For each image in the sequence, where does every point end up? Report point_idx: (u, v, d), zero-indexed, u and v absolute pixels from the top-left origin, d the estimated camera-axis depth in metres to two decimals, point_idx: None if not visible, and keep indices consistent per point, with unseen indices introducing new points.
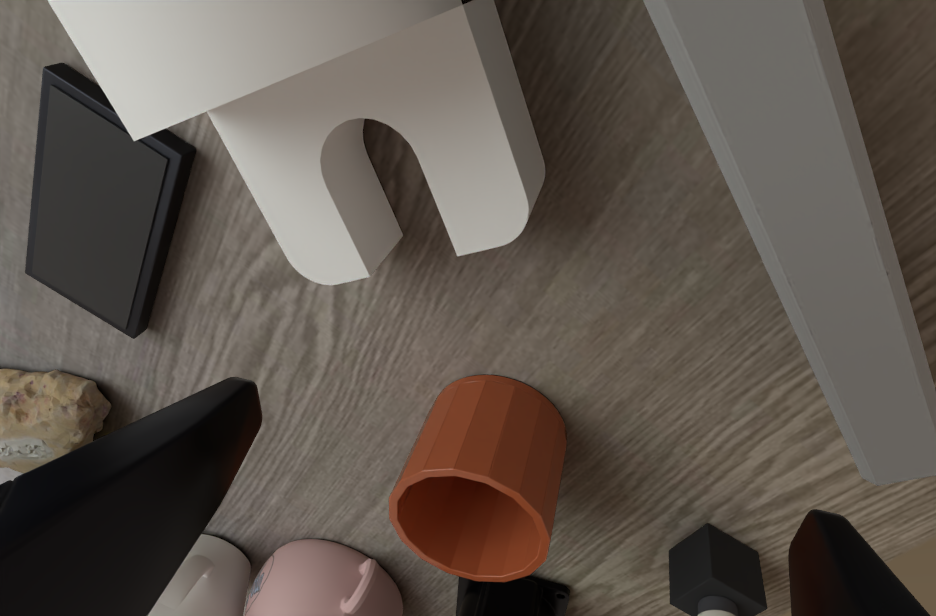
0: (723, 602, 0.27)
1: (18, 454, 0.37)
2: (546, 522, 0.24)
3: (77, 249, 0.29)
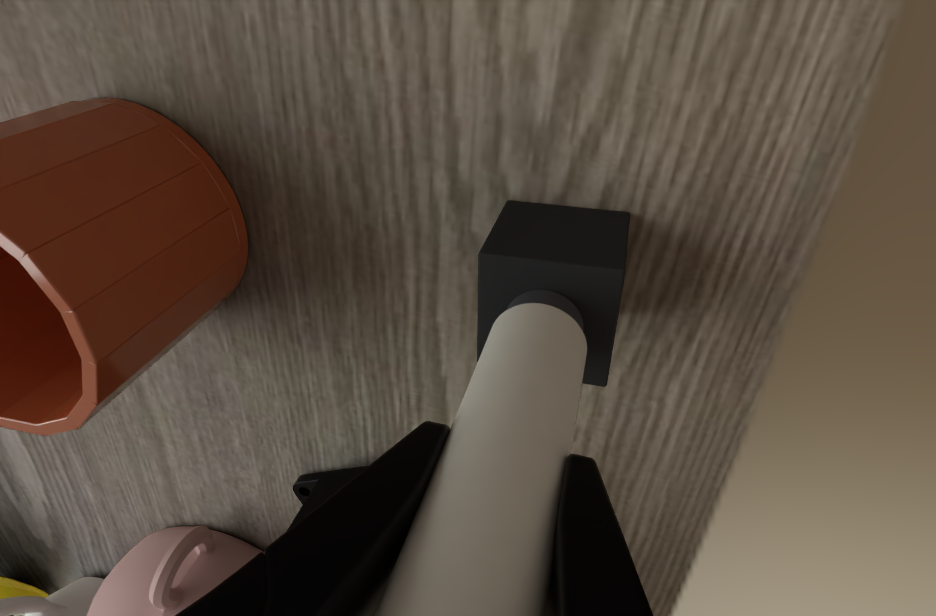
0: (528, 297, 0.12)
1: None
2: (7, 222, 0.12)
3: None
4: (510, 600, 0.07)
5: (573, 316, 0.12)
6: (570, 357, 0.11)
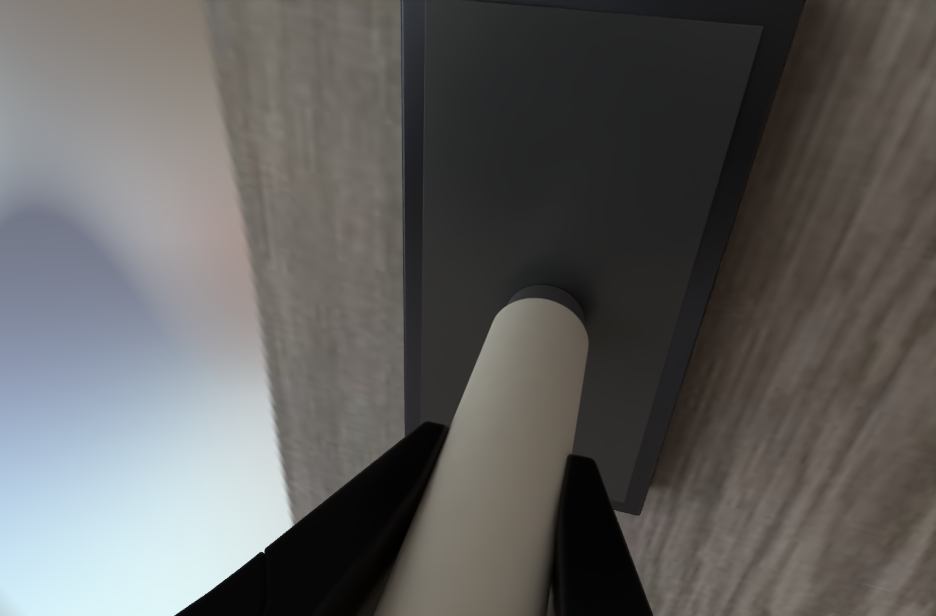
0: (529, 291, 0.12)
1: None
2: None
3: None
4: (512, 598, 0.07)
5: (574, 311, 0.12)
6: (572, 352, 0.11)
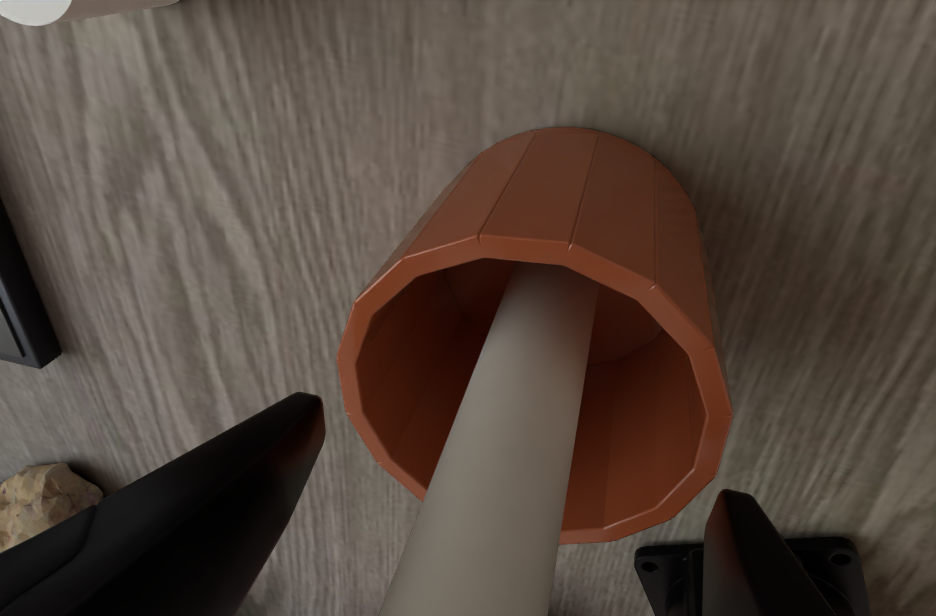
0: None
1: None
2: (684, 305, 0.09)
3: None
4: (546, 444, 0.09)
5: None
6: (586, 280, 0.13)
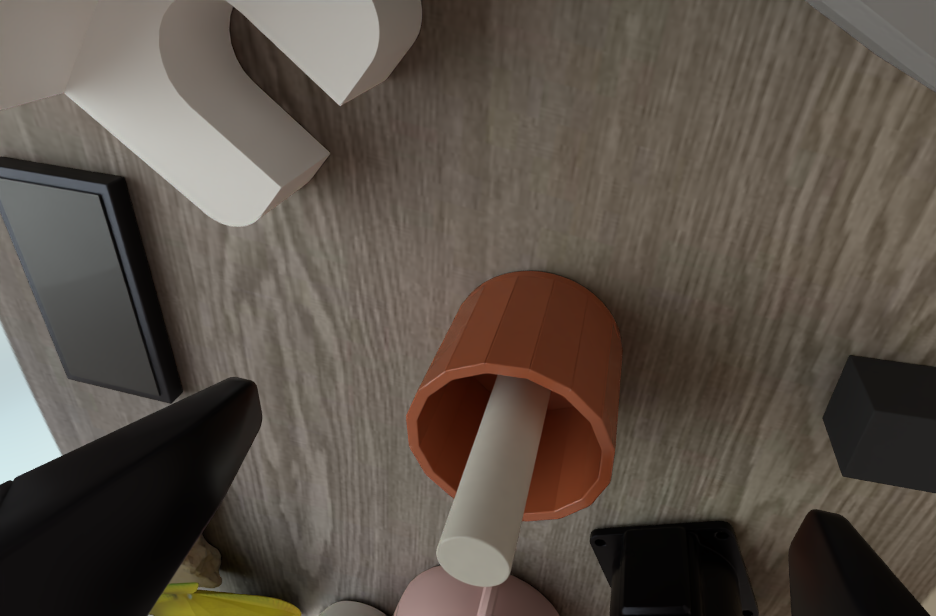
0: None
1: None
2: (587, 398, 0.18)
3: (87, 331, 0.29)
4: (519, 459, 0.18)
5: None
6: None
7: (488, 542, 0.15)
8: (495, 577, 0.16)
